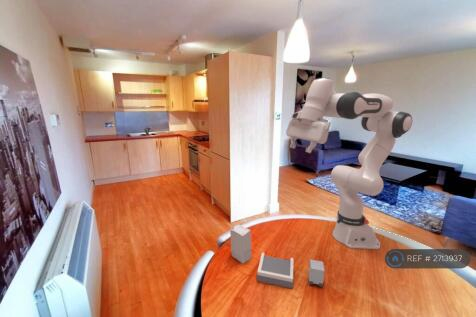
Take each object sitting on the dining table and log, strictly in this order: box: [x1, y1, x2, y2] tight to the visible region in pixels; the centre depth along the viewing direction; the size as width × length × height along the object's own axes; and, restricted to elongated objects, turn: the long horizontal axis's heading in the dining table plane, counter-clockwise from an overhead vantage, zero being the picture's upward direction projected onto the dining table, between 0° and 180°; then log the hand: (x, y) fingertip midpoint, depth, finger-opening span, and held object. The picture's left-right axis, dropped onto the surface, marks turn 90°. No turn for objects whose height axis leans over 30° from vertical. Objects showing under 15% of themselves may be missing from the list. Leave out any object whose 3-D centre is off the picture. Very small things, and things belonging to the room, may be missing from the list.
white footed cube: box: [308, 259, 325, 288], centre depth 86 cm, size 5×6×8 cm
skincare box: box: [229, 224, 252, 265], centre depth 99 cm, size 8×6×15 cm
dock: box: [256, 252, 294, 289], centre depth 90 cm, size 14×12×4 cm
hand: (299, 150), depth 88 cm, fingers open, 8 cm apart
